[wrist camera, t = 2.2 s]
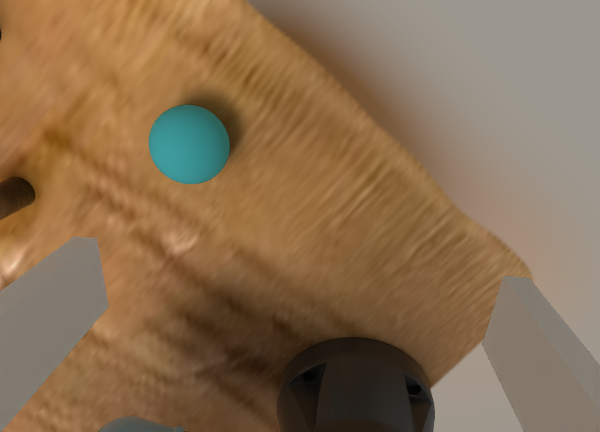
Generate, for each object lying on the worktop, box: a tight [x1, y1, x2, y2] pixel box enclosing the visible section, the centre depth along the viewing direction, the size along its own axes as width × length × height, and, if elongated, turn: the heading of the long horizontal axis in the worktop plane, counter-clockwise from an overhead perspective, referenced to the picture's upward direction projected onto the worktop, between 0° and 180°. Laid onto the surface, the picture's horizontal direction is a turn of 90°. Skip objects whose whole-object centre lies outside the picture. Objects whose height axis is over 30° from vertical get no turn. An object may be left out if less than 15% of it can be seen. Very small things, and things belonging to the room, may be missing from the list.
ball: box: [149, 105, 230, 184], centre depth 28 cm, size 6×6×6 cm
